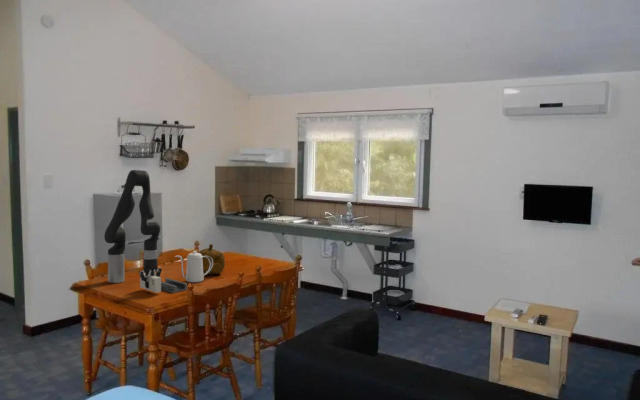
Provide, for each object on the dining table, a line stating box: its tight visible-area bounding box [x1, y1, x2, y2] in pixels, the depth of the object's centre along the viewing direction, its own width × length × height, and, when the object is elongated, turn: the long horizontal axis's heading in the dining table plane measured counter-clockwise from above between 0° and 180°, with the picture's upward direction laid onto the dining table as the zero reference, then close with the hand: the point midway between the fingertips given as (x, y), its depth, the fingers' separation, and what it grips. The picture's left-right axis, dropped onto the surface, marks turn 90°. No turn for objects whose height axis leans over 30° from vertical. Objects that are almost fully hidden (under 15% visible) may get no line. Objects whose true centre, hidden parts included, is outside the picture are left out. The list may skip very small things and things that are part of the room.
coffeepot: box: [174, 250, 213, 283], centre depth 323 cm, size 11×25×19 cm, turn 126°
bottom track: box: [161, 277, 189, 294], centre depth 305 cm, size 20×12×4 cm, turn 50°
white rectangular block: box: [139, 272, 162, 294], centre depth 295 cm, size 16×4×8 cm, turn 49°
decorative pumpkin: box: [197, 243, 226, 276], centre depth 344 cm, size 20×21×20 cm
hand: (150, 287), depth 296 cm, fingers closed on white rectangular block, 3 cm apart
